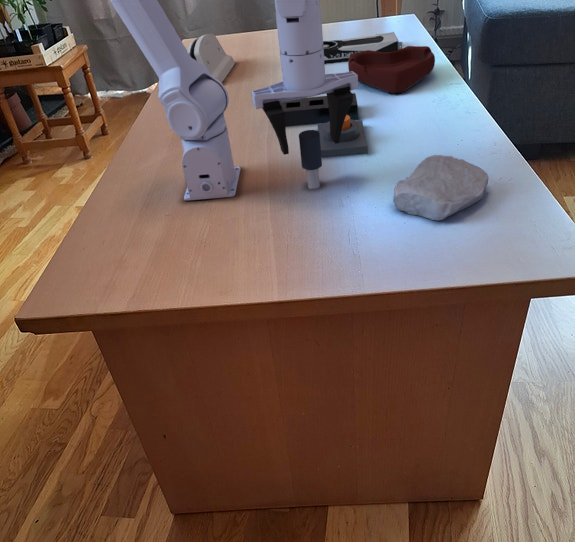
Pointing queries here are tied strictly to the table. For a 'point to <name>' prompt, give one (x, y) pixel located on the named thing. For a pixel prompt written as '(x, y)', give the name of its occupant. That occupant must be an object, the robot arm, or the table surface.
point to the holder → (312, 111)
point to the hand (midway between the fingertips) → (310, 146)
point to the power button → (346, 123)
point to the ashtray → (392, 67)
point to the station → (343, 140)
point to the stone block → (440, 187)
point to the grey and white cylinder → (311, 156)
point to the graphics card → (359, 46)
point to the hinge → (211, 56)
